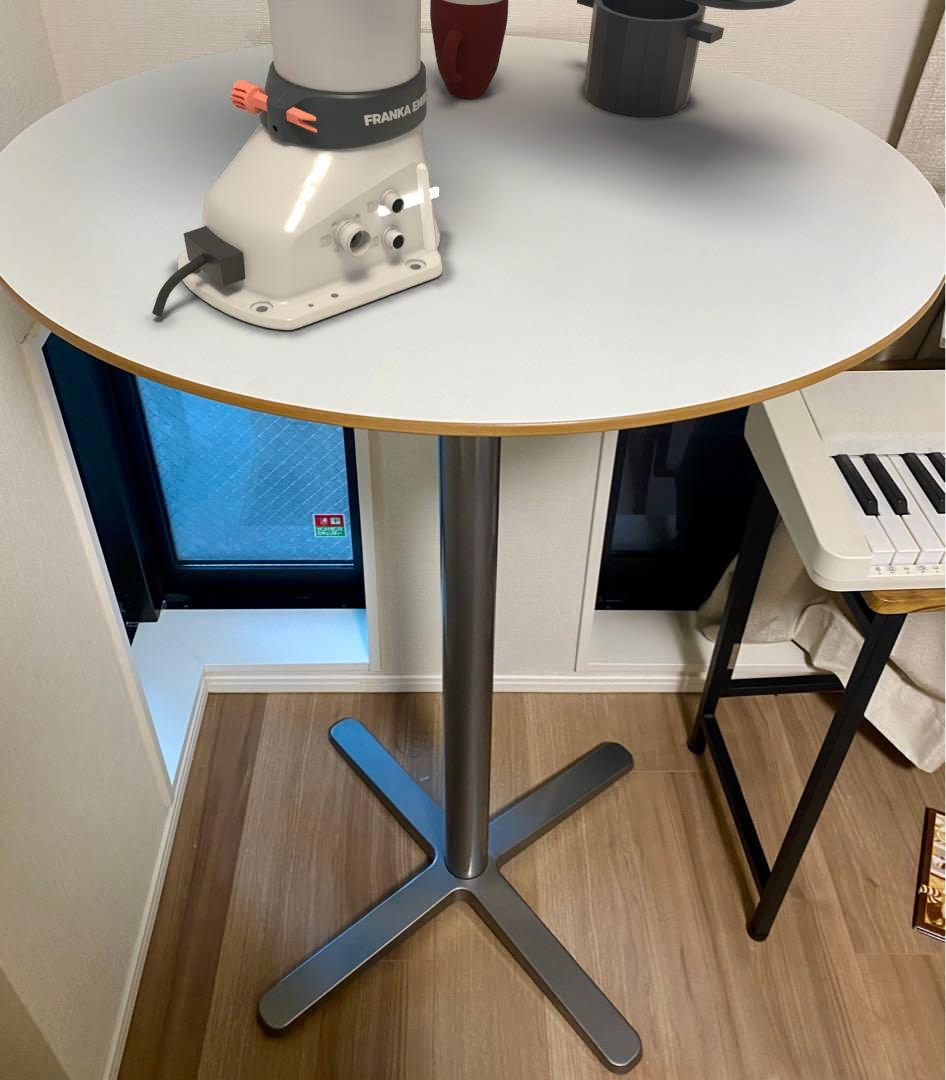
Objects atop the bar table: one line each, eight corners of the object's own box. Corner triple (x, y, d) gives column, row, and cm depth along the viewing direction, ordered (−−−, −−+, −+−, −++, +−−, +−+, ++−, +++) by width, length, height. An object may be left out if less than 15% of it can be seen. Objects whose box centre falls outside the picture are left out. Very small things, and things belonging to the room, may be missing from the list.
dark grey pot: (671, 133, 103) (689, 36, 96) (544, 88, 110) (552, -5, 103) (728, 103, 109) (748, 10, 102) (604, 62, 116) (615, -28, 110)
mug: (492, 119, 104) (497, 16, 96) (416, 111, 104) (416, 8, 97) (508, 82, 111) (514, -16, 104) (438, 74, 112) (439, -24, 105)
